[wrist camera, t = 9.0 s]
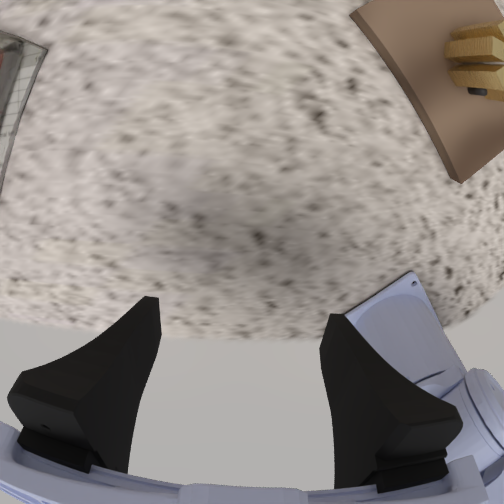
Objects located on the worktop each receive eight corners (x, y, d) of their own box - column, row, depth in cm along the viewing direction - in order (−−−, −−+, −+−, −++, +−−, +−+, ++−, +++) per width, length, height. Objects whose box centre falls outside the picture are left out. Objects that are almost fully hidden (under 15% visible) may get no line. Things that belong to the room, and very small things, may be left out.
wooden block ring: (500, 44, 13) (548, 44, 9) (496, 104, 15) (545, 114, 11) (445, 16, 13) (492, 4, 8) (441, 80, 15) (490, 83, 11)
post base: (533, 110, 16) (575, 121, 12) (450, 178, 19) (490, 201, 15) (455, -36, 12) (493, -53, 7) (349, 15, 15) (376, -6, 10)
